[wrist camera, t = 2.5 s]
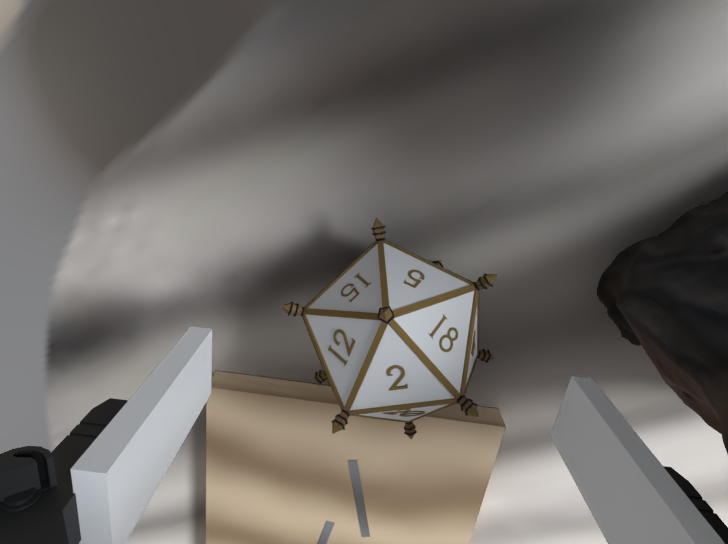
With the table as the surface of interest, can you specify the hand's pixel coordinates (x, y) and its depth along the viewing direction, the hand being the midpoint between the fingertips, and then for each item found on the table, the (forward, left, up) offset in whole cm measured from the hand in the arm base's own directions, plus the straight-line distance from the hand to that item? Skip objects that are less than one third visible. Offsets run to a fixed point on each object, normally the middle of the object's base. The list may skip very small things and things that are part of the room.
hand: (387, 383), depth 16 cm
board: (+17, -1, -7) cm, 19 cm away
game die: (0, 0, -7) cm, 7 cm away
